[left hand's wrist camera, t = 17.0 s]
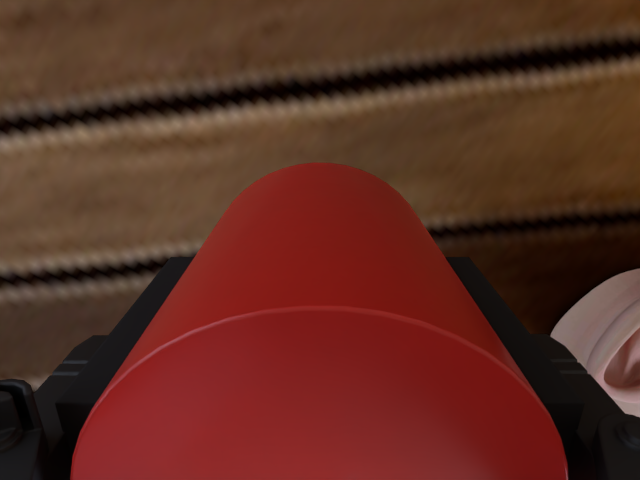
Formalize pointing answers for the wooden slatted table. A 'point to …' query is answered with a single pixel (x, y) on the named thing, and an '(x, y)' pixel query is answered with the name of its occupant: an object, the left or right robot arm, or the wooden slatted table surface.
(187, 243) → the wooden slatted table surface
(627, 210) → the wooden slatted table surface
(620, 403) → the anatomical model
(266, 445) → the cylinder
